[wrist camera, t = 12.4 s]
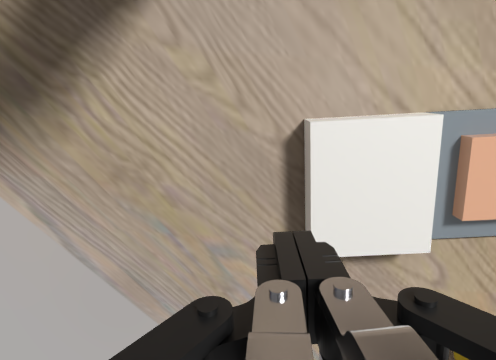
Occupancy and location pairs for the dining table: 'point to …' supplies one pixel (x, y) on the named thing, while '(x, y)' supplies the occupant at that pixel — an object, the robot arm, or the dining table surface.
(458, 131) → the slate mat
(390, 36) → the dining table surface
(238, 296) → the dining table surface
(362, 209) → the white flat block
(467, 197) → the terracotta tile
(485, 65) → the dining table surface
